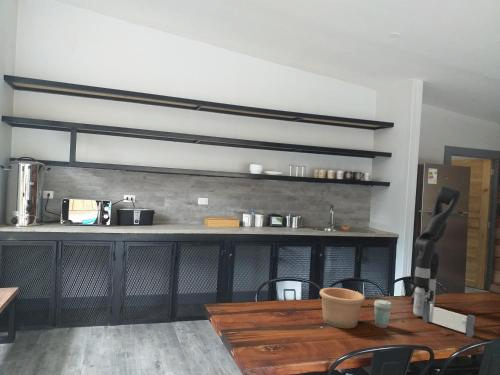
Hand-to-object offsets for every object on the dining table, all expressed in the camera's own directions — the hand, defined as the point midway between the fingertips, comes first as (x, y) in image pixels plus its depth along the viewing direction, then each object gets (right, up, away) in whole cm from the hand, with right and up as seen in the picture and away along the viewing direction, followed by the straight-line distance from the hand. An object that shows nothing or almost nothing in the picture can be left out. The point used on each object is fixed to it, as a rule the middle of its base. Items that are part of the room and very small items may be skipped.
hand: (419, 306), depth 207 cm
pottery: (-48, -3, -17) cm, 51 cm away
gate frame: (+7, -7, -15) cm, 18 cm away
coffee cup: (-27, -4, -18) cm, 33 cm away
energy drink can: (0, -5, 0) cm, 5 cm away
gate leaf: (+7, -6, -15) cm, 17 cm away
